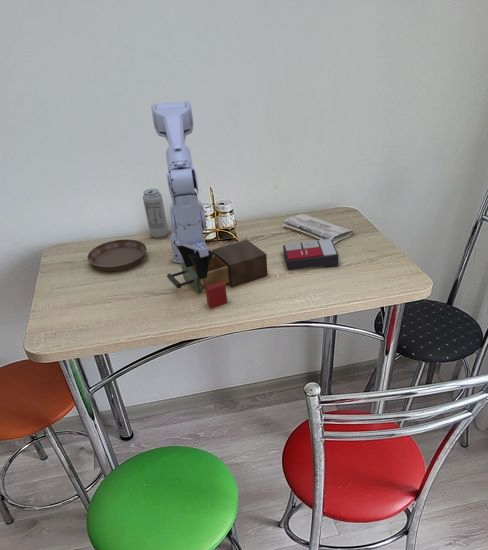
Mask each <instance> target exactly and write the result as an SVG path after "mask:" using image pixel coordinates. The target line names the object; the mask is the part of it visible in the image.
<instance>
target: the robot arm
mask: <svg viewBox="0 0 488 550" xmlns="http://www.w3.org/2000/svg"><path fill="white" fill-rule="evenodd" d="M150 108H151V115H152V121H153V126H154V129H155V133H156V134H157V136H158V137H161V138H164V139H165V140H166V142H167V143H168V147H167V148H166V151H165V158H166V164H167V165H166V166H167V172H166V180H167V181H166V182H167V186H168V192H169V195H170V198H171V202H172V203H171V204H170V205H169V212H170V213H169V215H170V222H171V228H172V233H171V236H170V245H171V252H172V257H173V259H172V263H177V264H181V263H182V262H184V263H185V265H186V267H187V268H188V267H191V266H194V267H195V270H196V274H197V276H198V278H199V279H204V278H207V273H208V266H209V262H210V260H211V257H212V256H213V253H212V250H210V249H209V248H208V247H207V244H206V241H205V237H204V231H205V230H207V220H206V213H205V209H204V204H203V203H202V201H201V200H199V197H198V194H199V183H198V182H199V181H198V176H197V171H196V169H195V167H194V166H195V165H194V164H193V159H192V153H191V149H190V148H189V147H188V146H187V145H186V144H185V142H186V139H187V136H188V135H191V134H192V133H193V130H194V118H193V117H194V115H193V111H192V104H191V102H190V101H189V100H185V101H174V102H161V103H155V102H153V103H152V104H151V106H150ZM195 190H196V191H195Z"/></svg>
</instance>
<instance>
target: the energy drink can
mask: <svg viewBox="0 0 488 550" xmlns="http://www.w3.org/2000/svg"><path fill="white" fill-rule="evenodd" d="M142 200H143V206H144V210H145V216H146V220H147V225H148V229H149V234H150V236H152V238H154V239H163V238H166V237H167V236H168V234H169V227H168V222H167V217H166V216H167V215H166V211H165V206H164V200H163V195H162V194H161V192H160V190H159V189H158V188H148V189H146V190H143V196H142Z"/></svg>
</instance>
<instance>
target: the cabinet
mask: <svg viewBox="0 0 488 550" xmlns="http://www.w3.org/2000/svg"><path fill="white" fill-rule="evenodd" d="M211 251H212V253H213V255H216V256H217V257H219V258H220V259H221V260H222V261H223V262H224V263H226V264H227V265H228V266H229V269H230V279H231V282H229V283H227V284H228V285H229V286H230V287H231V288H236V287H238V286H241V285H244V284H247V283H250V282H254V281H256V280H259V279H262V278H265V277H268V258H267V253H266V252H264V251H263V250H262V249H260V248H259V247H258V246H257V245H255V244H253V243H252V242H251V241H249V240H248V239H244V240H241V241H237V242H234V243H231V244H227V245H224V246H220V247H217V248H213V249H211Z"/></svg>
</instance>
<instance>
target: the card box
mask: <svg viewBox="0 0 488 550" xmlns="http://www.w3.org/2000/svg"><path fill="white" fill-rule="evenodd" d="M204 290H205V297H206V303H207V306H208V307H209V308H210V309H215V308H217V307H221V306H223V305H226V304H228V297H227V295H228V294H227V287H226V284H224V283H223V282H222V281H221V282H218V283H215V284H211V285H208V286H205V289H204Z"/></svg>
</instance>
